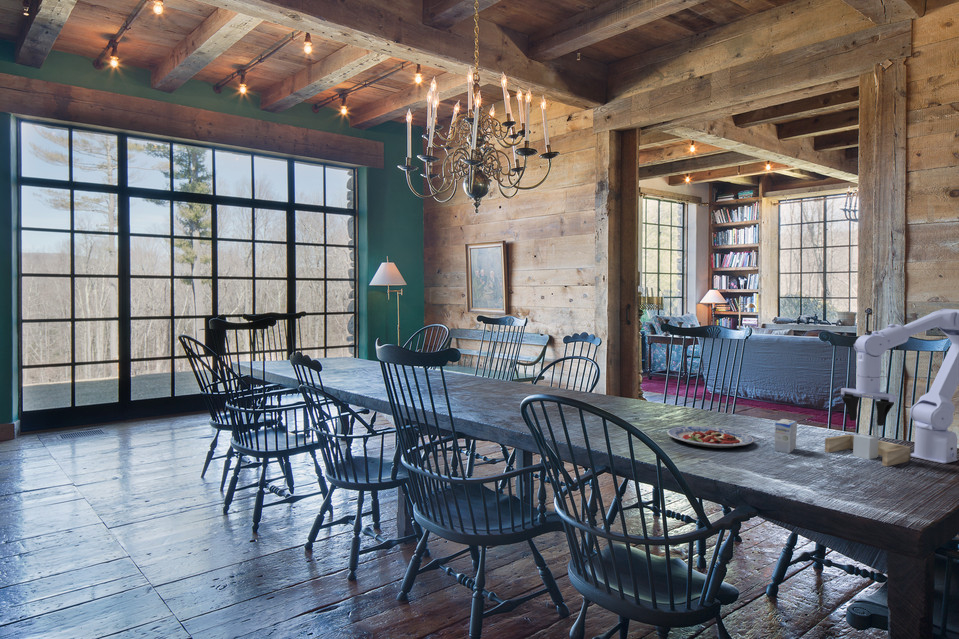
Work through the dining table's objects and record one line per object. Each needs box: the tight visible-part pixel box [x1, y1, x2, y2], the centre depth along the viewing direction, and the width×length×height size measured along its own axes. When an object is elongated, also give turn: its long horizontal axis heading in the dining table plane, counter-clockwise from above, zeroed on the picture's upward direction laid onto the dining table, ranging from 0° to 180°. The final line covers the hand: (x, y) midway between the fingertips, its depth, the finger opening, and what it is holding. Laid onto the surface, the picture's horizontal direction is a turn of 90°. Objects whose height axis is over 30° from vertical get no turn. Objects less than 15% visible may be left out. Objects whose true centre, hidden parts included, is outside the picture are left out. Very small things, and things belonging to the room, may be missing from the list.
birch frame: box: [824, 433, 912, 467], centre depth 178 cm, size 17×12×4 cm
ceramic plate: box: [666, 425, 755, 449], centre depth 194 cm, size 26×26×3 cm
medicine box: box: [773, 418, 798, 454], centre depth 184 cm, size 8×4×9 cm, turn 141°
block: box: [852, 433, 879, 460], centre depth 178 cm, size 4×4×6 cm
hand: (866, 422), depth 177 cm, fingers open, 7 cm apart
